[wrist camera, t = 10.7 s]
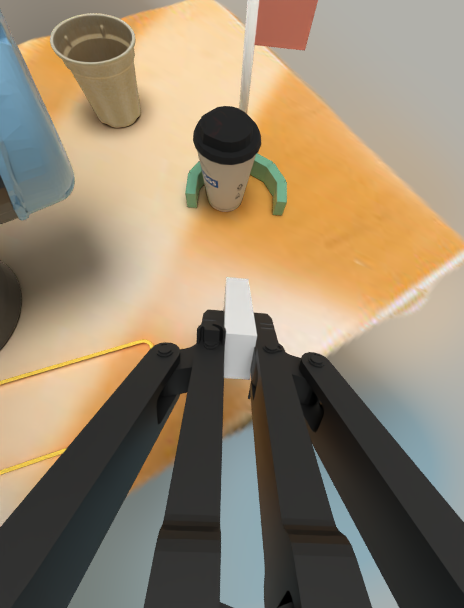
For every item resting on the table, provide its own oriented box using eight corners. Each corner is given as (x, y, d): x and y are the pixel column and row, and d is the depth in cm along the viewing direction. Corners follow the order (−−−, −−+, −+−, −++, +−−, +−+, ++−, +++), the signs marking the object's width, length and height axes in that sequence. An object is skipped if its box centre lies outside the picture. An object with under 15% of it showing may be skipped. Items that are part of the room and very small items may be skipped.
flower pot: (126, 82, 39) (103, 3, 31) (165, 116, 38) (151, 41, 29) (74, 110, 37) (33, 31, 29) (112, 147, 35) (80, 75, 27)
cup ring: (187, 207, 33) (185, 193, 31) (194, 161, 35) (192, 144, 33) (281, 215, 33) (286, 202, 31) (281, 169, 36) (286, 154, 33)
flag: (235, 160, 36) (249, -25, 20) (235, 155, 36) (250, -32, 20) (275, 164, 36) (323, -16, 20) (275, 159, 36) (322, -23, 20)
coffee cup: (246, 174, 35) (257, 96, 26) (254, 217, 33) (270, 149, 24) (196, 178, 34) (188, 99, 25) (201, 221, 32) (195, 153, 23)
